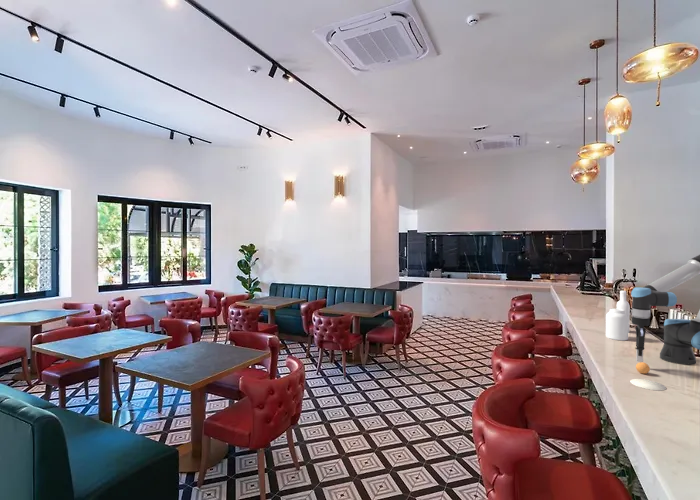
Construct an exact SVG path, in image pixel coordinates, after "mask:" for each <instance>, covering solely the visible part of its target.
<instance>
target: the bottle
mask: <svg viewBox="0 0 700 500" xmlns="http://www.w3.org/2000/svg"><path fill="white" fill-rule="evenodd" d="M630 307H631V306H630V303H629V302H628V301H627V291H626V290H619V300H618V301H617V302H616V308H615V309H623V310H625V313H626V314H627V315H628V334H629V333H630V330H631V329H630V317H631V316H630V315H631V313H630V312H631V308H630Z"/></svg>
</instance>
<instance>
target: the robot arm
mask: <svg viewBox="0 0 700 500" xmlns="http://www.w3.org/2000/svg"><path fill="white" fill-rule="evenodd" d="M699 275H700V254H698V255H696V256H694V257H692V258H690V259H689V260H687V262H686V263H685V264H683V265H681V266H680V267H678V268H676V269H674V270H673V271H671V272H669V273H667V274H666V275H663V276H661V277H659V278H657V279H656V280H653V282H650V283H649V284H646V285H645V286H643V287H640V286H638V287H634V288H632V290H631V292H630V295H631V299H632V301H631V303H632V304H631V305H632V306H631V307H632V308H631V309H630V312H631V315H632V316H631V324H632V325H635V328H634V329H635V336H636V337H635V342H636V343H635V350H636V353H635V354H636V358H635V361H636V362H637V363H640V362H643V363H644V350H645V342H646V341H645V339H646V332H647V329H646V327H645V326H647V327H648V326H650V325H651V319H650V318H651V307H668V308H669V307H674V306H676V304H677V302H678V297H677V295H676V293H674V292H671V291H670V290H672V289H674V288H676V287H679V285H682V284H683V283H685V282H688V281H690V280H691V279H693V278H696V277H697V276H699ZM663 322H664V323H663V346H662V348H661V350H660V352H659V358H660V359H661V360H663V361H666V362H668V363H674V364H678V365H679V364H680V365H688V366H689V365H696V364H697V358H696V355H695V353H694V350H693V348H694V349H697V350H700V309H699V311H698V312H697V315H696V317H694V318H692V319H685V318H666V319H665V320H664V321H663Z"/></svg>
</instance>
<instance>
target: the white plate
mask: <svg viewBox="0 0 700 500" xmlns="http://www.w3.org/2000/svg"><path fill="white" fill-rule="evenodd" d="M629 381H630V382H629V383H631V384H632V385H634V386H636V387H637V388H640V389H641V388H642V389H645V390H649V391H650V390H651V391H665V390H667V386H665V385H664V384H662V383H660V382H658V381H653V380H650V379H644V378H643V379H642V378H633V379H630V380H629Z"/></svg>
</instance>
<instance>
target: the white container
mask: <svg viewBox="0 0 700 500" xmlns="http://www.w3.org/2000/svg"><path fill="white" fill-rule="evenodd" d="M605 337H606V338H607V339H609V340H613V341H614V340H615V341H628V340H629V333H628V315H627V314H626V313H625V310H623V309H616V308H609V311H608V312H606V314H605Z"/></svg>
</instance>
